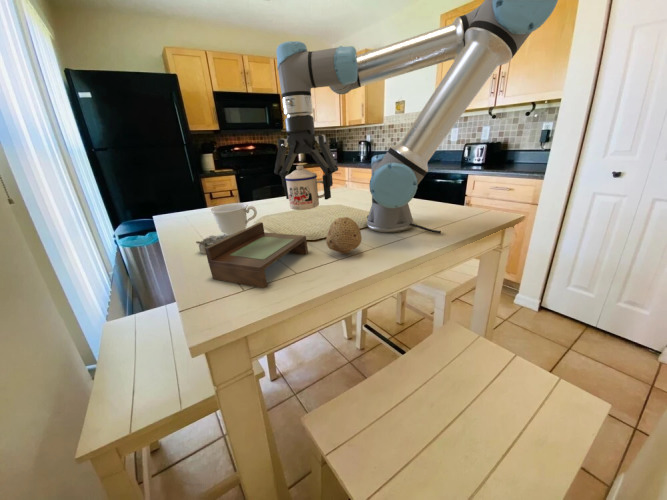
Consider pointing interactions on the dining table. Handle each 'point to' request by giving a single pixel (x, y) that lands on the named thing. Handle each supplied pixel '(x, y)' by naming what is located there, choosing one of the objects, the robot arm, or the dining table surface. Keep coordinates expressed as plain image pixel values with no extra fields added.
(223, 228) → the teacup
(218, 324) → the dining table surface
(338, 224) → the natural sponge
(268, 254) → the shelf
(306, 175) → the teacup with lid
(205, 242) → the egg carton
